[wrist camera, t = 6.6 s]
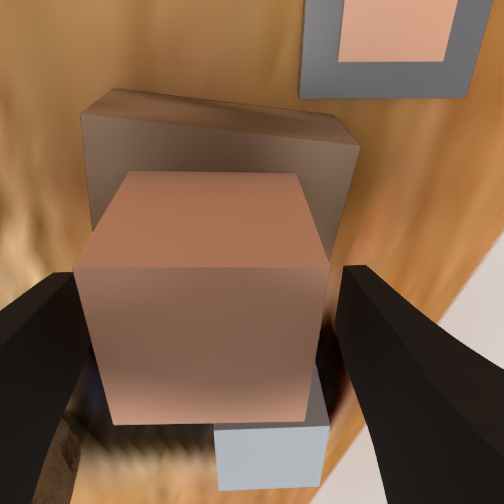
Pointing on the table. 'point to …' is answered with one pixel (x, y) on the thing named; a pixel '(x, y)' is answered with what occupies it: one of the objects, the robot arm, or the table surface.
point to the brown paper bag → (59, 468)
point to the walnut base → (217, 147)
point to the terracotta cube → (205, 297)
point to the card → (390, 48)
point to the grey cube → (274, 449)
